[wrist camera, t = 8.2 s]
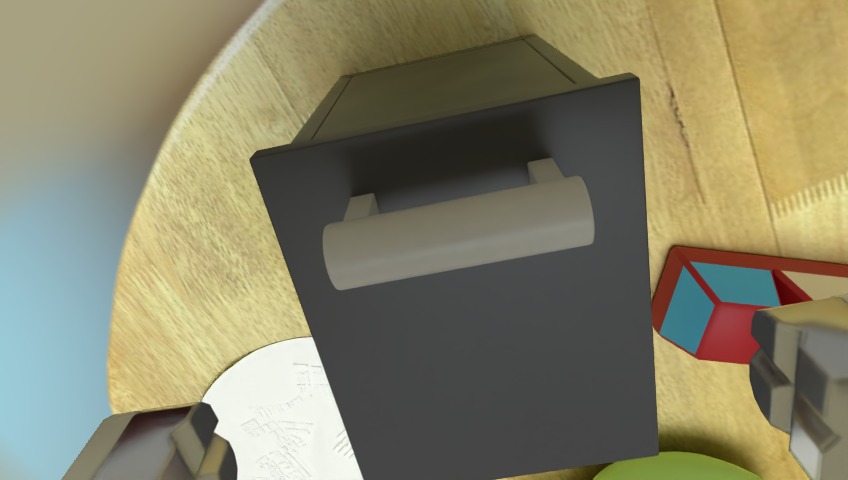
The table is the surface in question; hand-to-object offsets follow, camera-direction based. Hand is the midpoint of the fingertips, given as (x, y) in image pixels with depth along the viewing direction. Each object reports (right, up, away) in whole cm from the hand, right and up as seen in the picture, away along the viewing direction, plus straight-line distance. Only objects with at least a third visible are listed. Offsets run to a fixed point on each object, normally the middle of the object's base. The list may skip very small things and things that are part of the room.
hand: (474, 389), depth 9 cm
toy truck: (+21, -1, +28) cm, 36 cm away
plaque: (-8, -13, +34) cm, 38 cm away
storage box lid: (+1, 0, +10) cm, 10 cm away
